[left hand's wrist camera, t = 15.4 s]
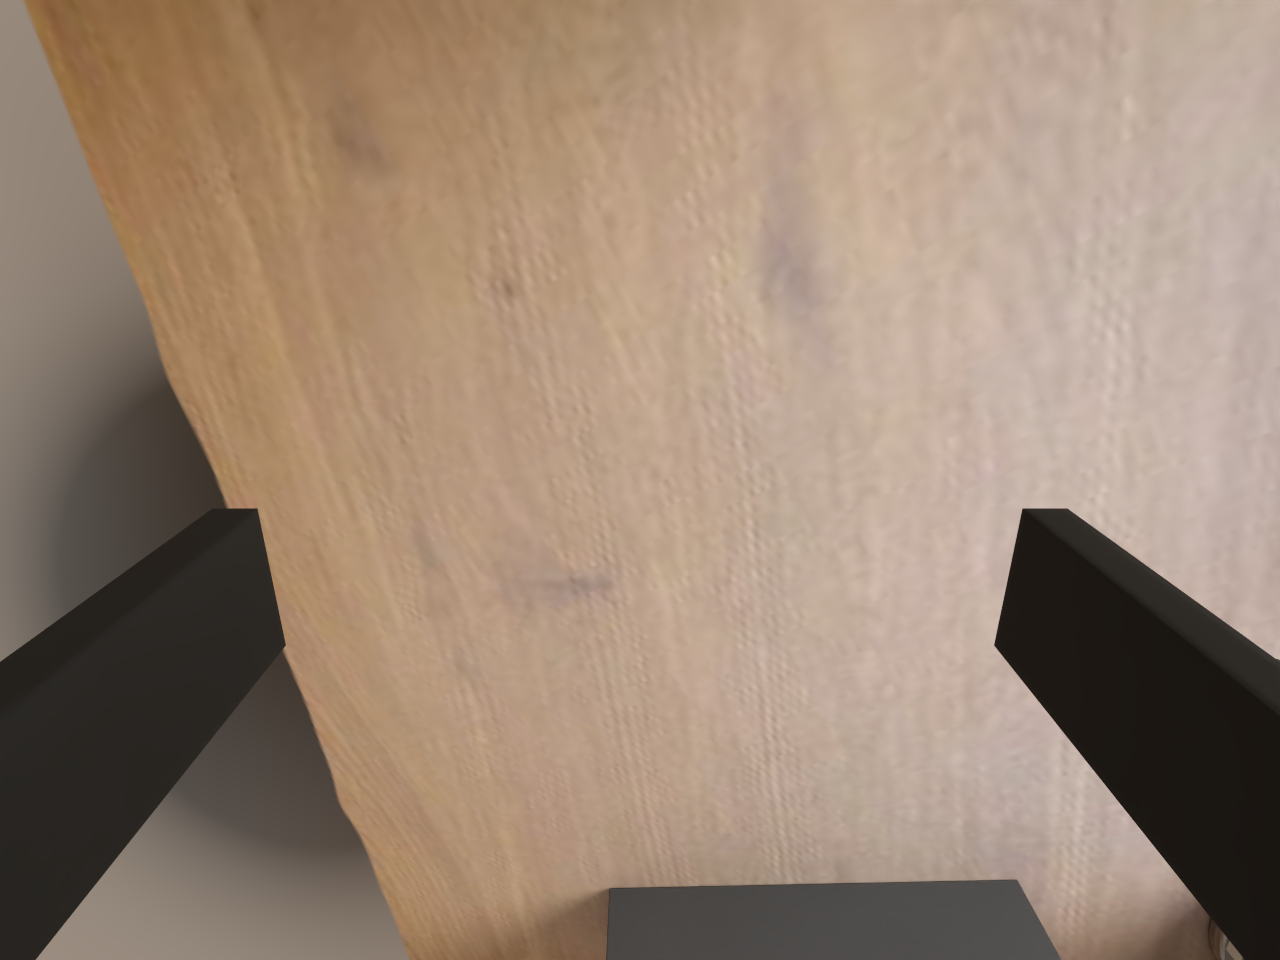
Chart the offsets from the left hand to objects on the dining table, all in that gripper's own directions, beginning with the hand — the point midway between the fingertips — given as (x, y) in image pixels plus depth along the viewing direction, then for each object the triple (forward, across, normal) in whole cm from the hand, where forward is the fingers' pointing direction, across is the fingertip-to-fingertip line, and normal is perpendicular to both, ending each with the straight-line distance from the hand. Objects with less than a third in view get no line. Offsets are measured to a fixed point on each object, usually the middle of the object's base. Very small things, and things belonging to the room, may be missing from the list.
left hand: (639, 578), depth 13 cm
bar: (+30, +14, -47) cm, 57 cm away
